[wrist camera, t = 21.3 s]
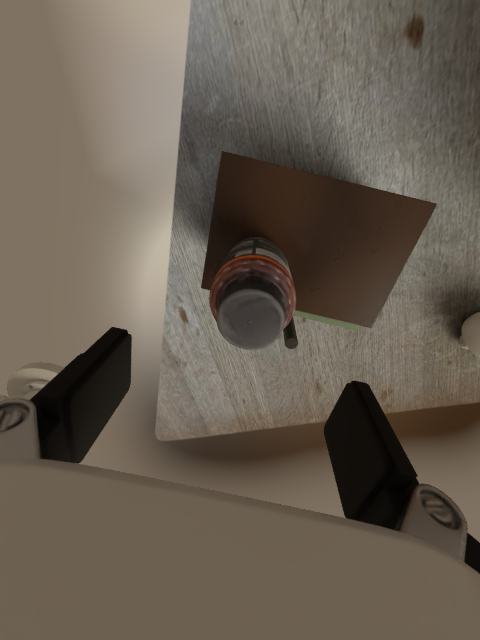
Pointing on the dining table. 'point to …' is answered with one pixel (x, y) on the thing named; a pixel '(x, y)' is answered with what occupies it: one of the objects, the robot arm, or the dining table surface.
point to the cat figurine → (471, 334)
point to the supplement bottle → (253, 294)
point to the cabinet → (317, 234)
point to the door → (290, 330)
